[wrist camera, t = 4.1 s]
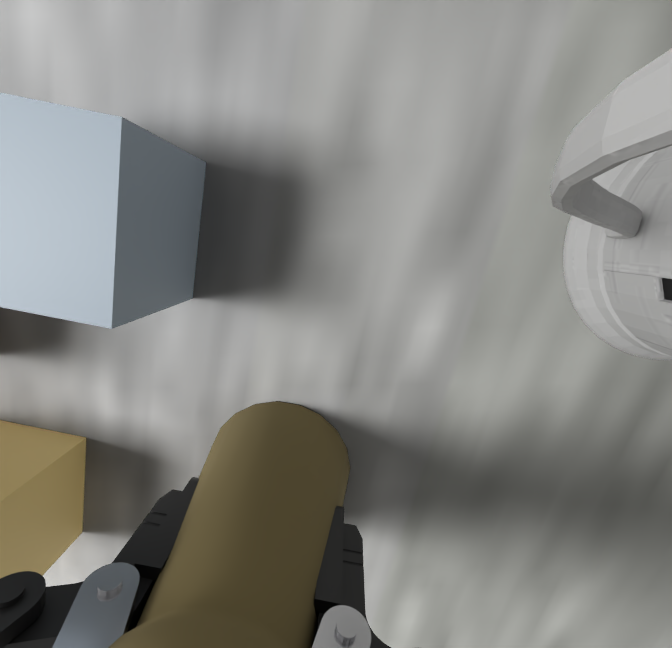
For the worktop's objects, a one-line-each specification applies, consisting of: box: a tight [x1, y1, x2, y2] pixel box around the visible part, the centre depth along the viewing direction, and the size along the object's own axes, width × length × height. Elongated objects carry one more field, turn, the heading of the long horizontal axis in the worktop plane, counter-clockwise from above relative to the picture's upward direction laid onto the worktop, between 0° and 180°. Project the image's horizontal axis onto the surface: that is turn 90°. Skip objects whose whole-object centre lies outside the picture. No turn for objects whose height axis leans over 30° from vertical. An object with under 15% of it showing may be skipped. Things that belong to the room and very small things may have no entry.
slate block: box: [0, 93, 206, 329], centre depth 11 cm, size 5×5×5 cm
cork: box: [108, 401, 350, 648], centre depth 10 cm, size 6×6×11 cm
